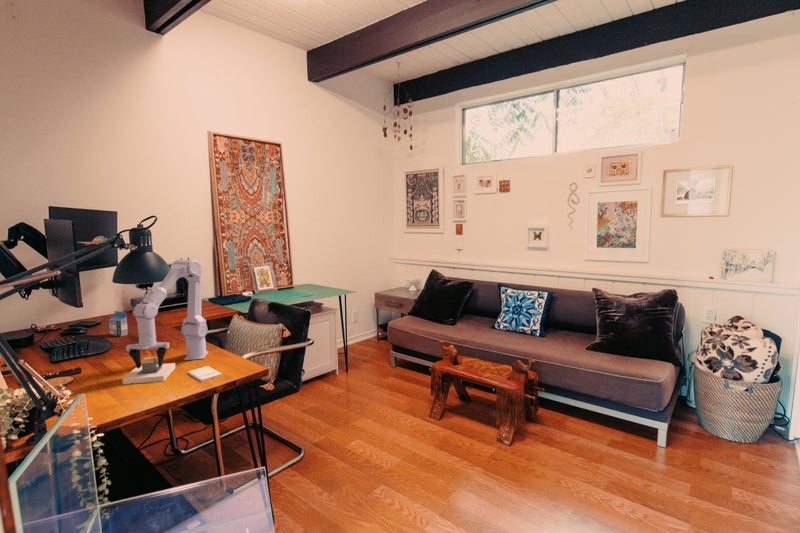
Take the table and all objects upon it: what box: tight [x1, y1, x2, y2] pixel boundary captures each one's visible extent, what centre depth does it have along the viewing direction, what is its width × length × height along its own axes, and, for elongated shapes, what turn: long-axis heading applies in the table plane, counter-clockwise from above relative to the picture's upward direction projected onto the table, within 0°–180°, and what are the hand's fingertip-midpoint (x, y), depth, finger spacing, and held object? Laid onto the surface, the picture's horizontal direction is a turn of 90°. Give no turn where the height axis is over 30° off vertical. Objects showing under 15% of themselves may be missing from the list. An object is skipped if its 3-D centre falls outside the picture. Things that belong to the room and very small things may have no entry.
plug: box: [141, 356, 158, 373], centre depth 160 cm, size 4×4×7 cm
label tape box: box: [108, 310, 129, 337], centre depth 214 cm, size 9×4×12 cm, turn 71°
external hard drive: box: [187, 365, 223, 383], centre depth 162 cm, size 2×8×12 cm
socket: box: [122, 362, 177, 385], centre depth 160 cm, size 14×14×2 cm
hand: (149, 366), depth 160 cm, fingers open, 7 cm apart
